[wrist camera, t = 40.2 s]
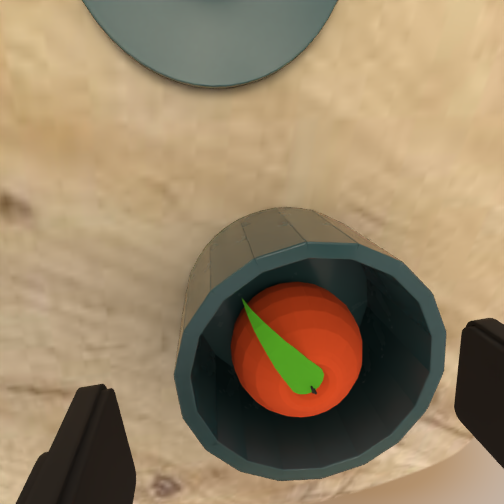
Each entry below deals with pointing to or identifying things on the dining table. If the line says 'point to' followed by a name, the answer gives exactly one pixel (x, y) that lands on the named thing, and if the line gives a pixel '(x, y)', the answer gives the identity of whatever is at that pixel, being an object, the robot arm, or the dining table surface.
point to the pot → (366, 316)
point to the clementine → (296, 349)
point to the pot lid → (212, 36)
